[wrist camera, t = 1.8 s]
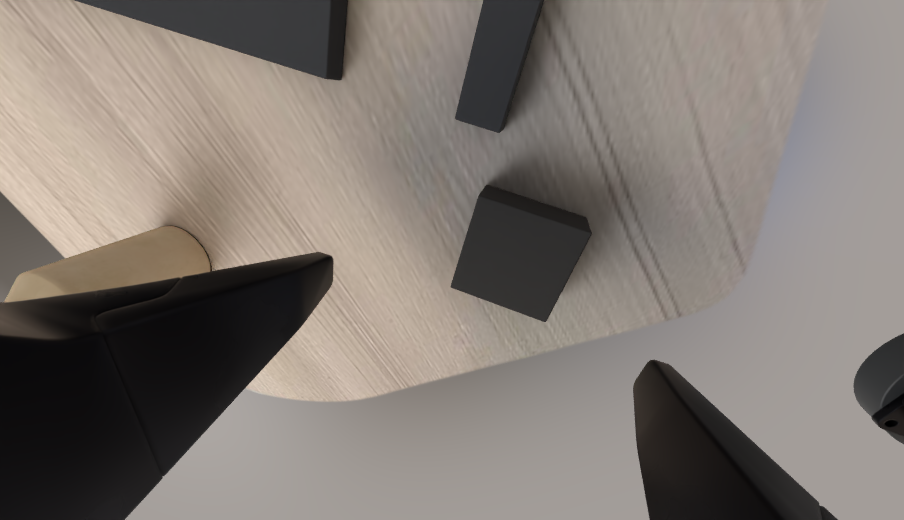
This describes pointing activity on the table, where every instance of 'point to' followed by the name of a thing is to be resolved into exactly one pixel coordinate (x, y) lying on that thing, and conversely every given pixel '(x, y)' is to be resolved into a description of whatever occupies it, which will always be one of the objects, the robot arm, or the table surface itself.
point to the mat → (322, 40)
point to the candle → (116, 265)
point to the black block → (519, 252)
